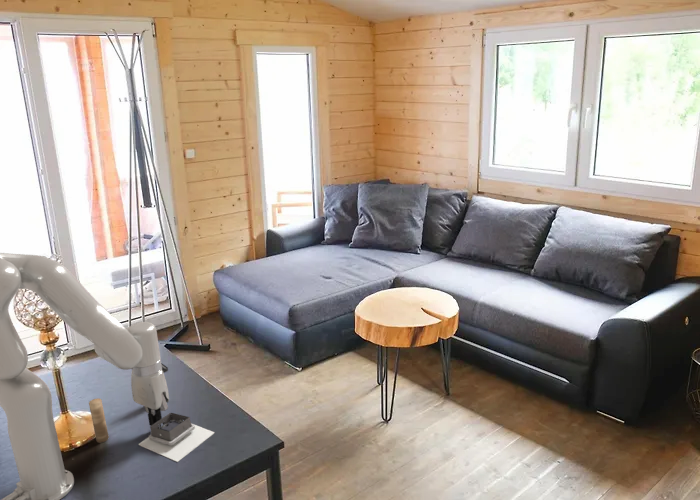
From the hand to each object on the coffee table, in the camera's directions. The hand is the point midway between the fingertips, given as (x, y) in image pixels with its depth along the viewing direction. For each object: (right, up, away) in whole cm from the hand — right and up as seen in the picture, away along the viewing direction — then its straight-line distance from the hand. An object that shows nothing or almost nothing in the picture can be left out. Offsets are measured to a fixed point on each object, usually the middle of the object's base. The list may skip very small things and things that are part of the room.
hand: (156, 423), depth 161 cm
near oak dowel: (-14, -4, -3) cm, 15 cm away
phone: (-15, +8, +35) cm, 39 cm away
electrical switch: (+1, +1, -1) cm, 2 cm away
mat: (+7, -3, -3) cm, 8 cm away
